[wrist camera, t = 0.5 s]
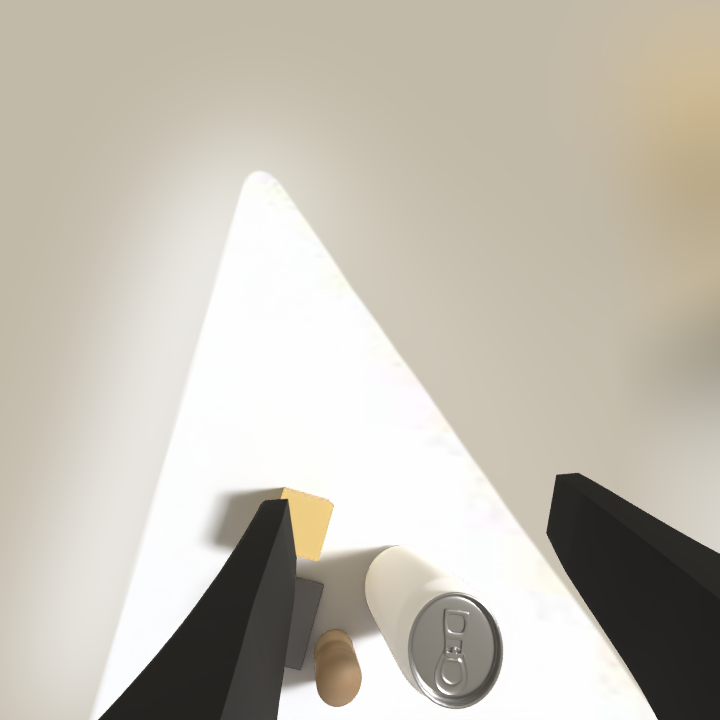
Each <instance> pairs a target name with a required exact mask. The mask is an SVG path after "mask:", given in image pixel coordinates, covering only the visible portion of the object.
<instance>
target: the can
mask: <svg viewBox="0 0 720 720" xmlns="http://www.w3.org/2000/svg"><path fill="white" fill-rule="evenodd" d="M365 595H366V600H367V604H368V607H369V609H370V611H371V613H372V615H373V617H374V619H375V621H376V623H377V625H378V627H379V629H380V631H381V633H382V635H383V637H384V639H385V641H386V643H387V645H388V647H389V649H390V651H391V653H392V655H393V657H394V659H395V660H396V662H397V664H398V666H399V668H400V670H401V671H402V673H403V675H404V676H405V678H406V679H407V680H408V682H409V683H410V684H411V685H412V686H413V687H414V688H415V689H416V690H417V691H418V692H420V693H421V694H423V695H425V696H426V697H428V698H429V699H430V700H431V701H433V702H434V703H436V704H438V705H440V706H442V707H446V708H451V709H462V708H466V707H469V706H472V705H474V704H476V703H478V702H479V701H480V700H482V699H483V698H484V697H485V696H486V695H487V694H488V693H489V692H490V690H491V689H492V688H493V686H494V684H495V683H496V681H497V678H498V676H499V673H500V670H501V666H502V660H503V642H502V636H501V632H500V629H499V626H498V624H497V621H496V619H495V618H494V616H493V614H492V613H491V611H490V609H489V607H488V605H487V603H486V602H485V600H484V599H483V597H482V596H481V595H480V594H479V593H478V592H477V591H476V590H475V589H474V588H473V587H472V586H471V585H469V584H468V583H467V582H465V581H464V580H463V579H461V578H460V577H458V576H457V575H456V574H454V573H453V572H451V571H450V570H448V569H447V568H445V567H444V566H442V565H441V564H440V563H438V562H437V561H435V560H434V559H432V558H431V557H429V556H428V555H426V554H425V553H423V552H422V551H420V550H418V549H416V548H414V547H411V546H406V545H398V546H393V547H390V548H388V549H386V550H384V551H383V552H381V553H380V554H379V555H378V556H377V557H376V558H375V559H374V561H373V562H372V564H371V566H370V568H369V570H368V573H367V576H366V581H365Z"/></svg>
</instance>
